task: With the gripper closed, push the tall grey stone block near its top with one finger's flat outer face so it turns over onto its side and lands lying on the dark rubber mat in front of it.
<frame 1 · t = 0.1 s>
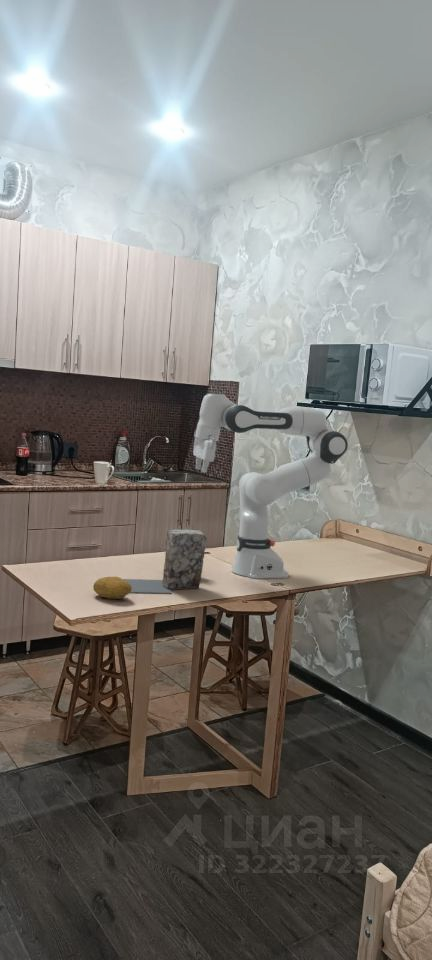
hand: (200, 470, 268), 39 cm above the table, tool pointing down, fingers open, 8 cm apart
potato: (112, 598, 228), on the table
beverage can: (185, 575, 265), on the table
stone block: (180, 587, 248), on the table, touching mat
mat: (140, 586, 244), on the table
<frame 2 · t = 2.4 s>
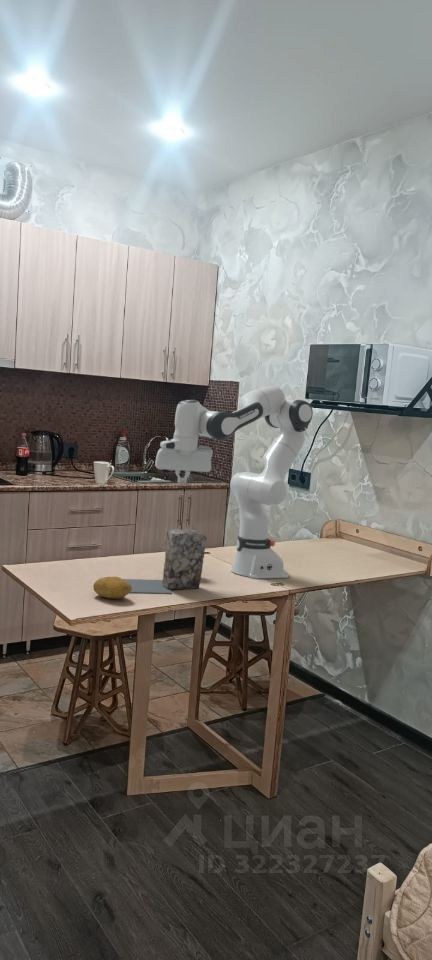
hand: (181, 482, 257), 35 cm above the table, tool pointing down, fingers closed
nothing on the table moved.
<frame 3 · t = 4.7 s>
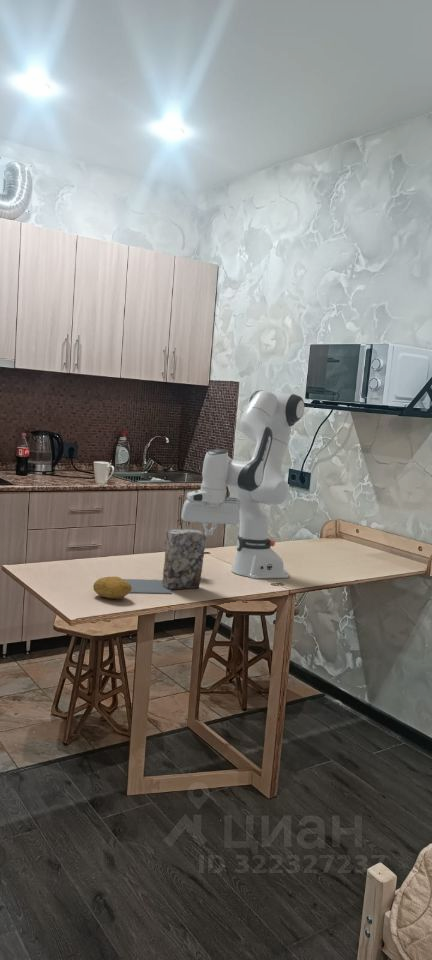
hand: (208, 535, 247), 19 cm above the table, tool pointing down, fingers closed
stone block: (180, 587, 248), on the table, touching gripper, mat
everything else where it was.
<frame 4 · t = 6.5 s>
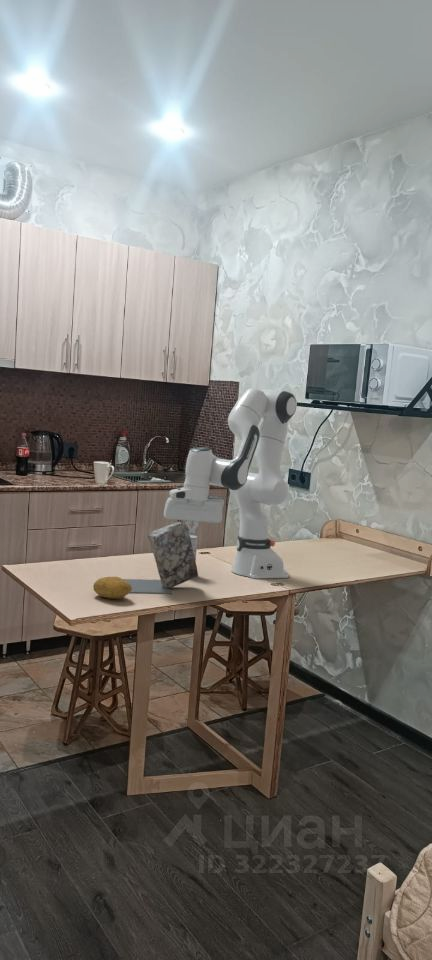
hand: (191, 533, 245), 20 cm above the table, tool pointing down, fingers closed
stone block: (180, 581, 247), point 2 cm above the table, touching gripper, mat
everything else where it was.
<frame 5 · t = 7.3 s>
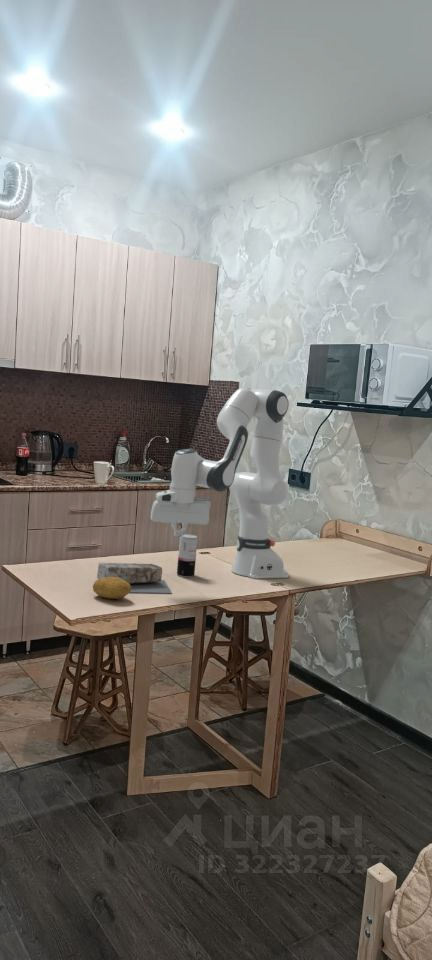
hand: (178, 535, 245), 18 cm above the table, tool pointing down, fingers closed
stone block: (156, 572, 252), point 3 cm above the table, touching mat
everything else where it was.
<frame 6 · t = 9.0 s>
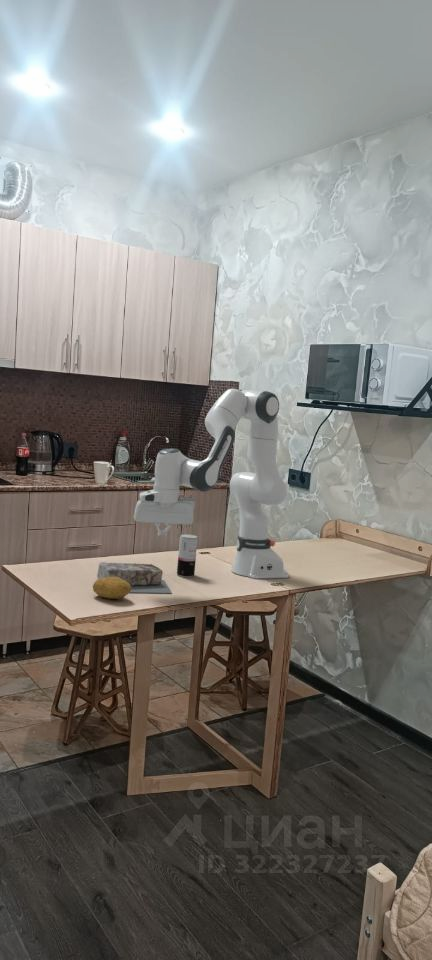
hand: (162, 535, 244), 18 cm above the table, tool pointing down, fingers closed
nothing on the table moved.
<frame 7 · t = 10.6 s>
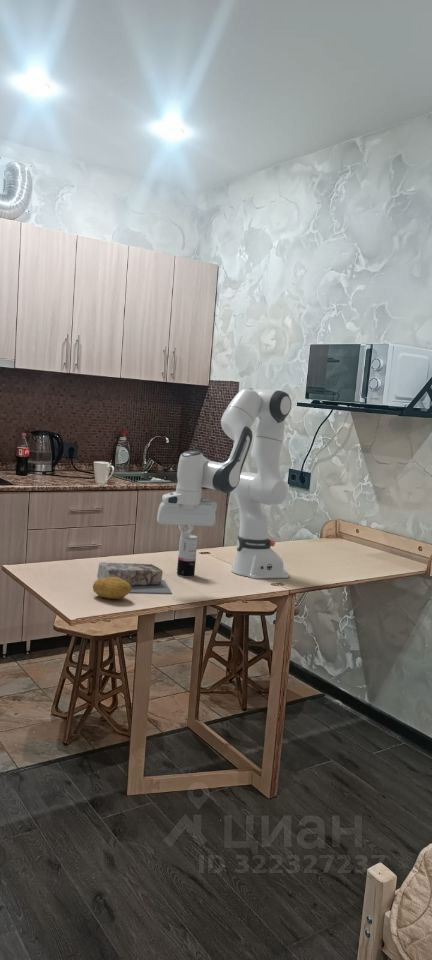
hand: (185, 537, 246), 18 cm above the table, tool pointing down, fingers closed
nothing on the table moved.
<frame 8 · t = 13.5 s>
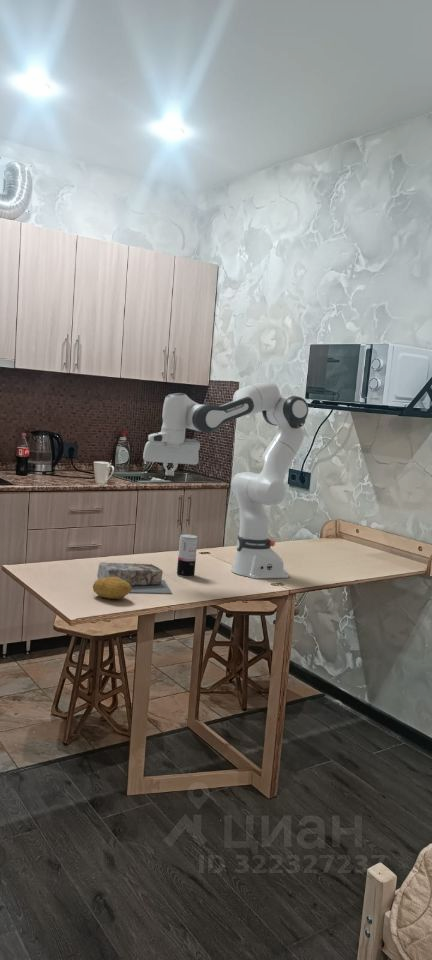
hand: (169, 475, 260), 37 cm above the table, tool pointing down, fingers closed
nothing on the table moved.
at the end: stone block tilted 90°; stone block inside the target area (9.3 cm from its centre), point 3.0 cm above the table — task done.
